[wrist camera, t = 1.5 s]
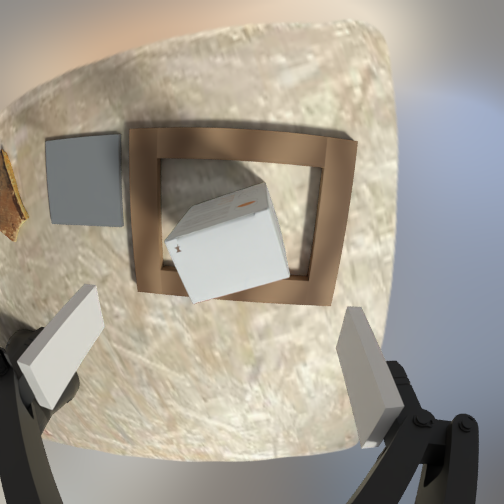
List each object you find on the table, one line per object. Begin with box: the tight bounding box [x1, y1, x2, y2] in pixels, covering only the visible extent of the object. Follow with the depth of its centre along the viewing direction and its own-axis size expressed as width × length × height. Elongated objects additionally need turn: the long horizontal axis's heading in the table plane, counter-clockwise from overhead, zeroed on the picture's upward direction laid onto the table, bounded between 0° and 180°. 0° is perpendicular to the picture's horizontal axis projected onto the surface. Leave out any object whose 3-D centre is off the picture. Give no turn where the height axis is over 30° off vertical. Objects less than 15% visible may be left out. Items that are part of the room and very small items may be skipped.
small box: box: [164, 182, 290, 304], centre depth 27 cm, size 8×6×10 cm
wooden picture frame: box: [129, 127, 358, 306], centre depth 31 cm, size 22×18×1 cm
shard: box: [0, 149, 29, 242], centre depth 30 cm, size 11×8×2 cm
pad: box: [46, 134, 124, 227], centre depth 30 cm, size 10×10×1 cm
